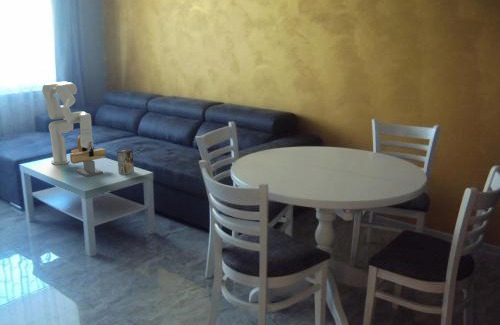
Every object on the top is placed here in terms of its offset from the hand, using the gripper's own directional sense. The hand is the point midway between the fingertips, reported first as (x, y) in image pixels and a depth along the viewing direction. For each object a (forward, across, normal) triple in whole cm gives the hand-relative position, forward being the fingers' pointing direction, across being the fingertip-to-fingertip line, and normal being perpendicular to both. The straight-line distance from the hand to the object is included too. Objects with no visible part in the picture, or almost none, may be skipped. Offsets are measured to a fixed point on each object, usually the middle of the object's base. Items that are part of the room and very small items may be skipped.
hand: (88, 155), depth 333 cm
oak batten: (+4, 0, 0) cm, 4 cm away
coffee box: (+13, +17, +19) cm, 29 cm away
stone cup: (+14, -49, +20) cm, 55 cm away
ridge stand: (+13, 0, 0) cm, 13 cm away
